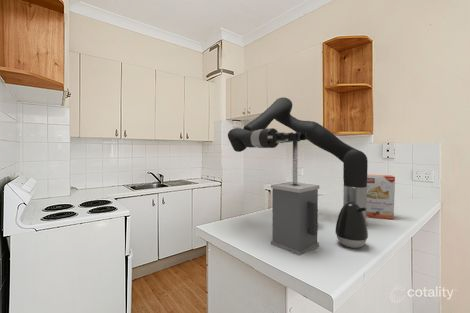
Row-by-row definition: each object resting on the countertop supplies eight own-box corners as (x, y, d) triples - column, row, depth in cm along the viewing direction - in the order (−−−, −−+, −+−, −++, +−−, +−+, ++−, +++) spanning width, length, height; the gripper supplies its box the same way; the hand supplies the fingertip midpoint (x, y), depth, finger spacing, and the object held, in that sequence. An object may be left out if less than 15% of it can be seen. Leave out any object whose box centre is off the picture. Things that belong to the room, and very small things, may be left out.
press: (291, 235, 90) (291, 181, 89) (324, 247, 79) (325, 186, 79) (270, 244, 82) (270, 184, 82) (305, 258, 72) (305, 190, 71)
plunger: (292, 208, 87) (292, 133, 86) (310, 213, 81) (311, 132, 80) (279, 212, 82) (279, 132, 81) (297, 217, 76) (298, 131, 75)
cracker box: (361, 217, 115) (361, 175, 114) (359, 213, 120) (360, 173, 120) (394, 220, 110) (395, 176, 109) (391, 216, 115) (392, 174, 114)
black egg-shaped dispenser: (353, 253, 75) (354, 207, 74) (329, 242, 84) (329, 200, 84) (375, 248, 79) (375, 203, 78) (349, 237, 88) (349, 198, 88)
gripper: (251, 127, 87) (289, 124, 74) (276, 129, 96) (313, 126, 83) (251, 147, 87) (289, 147, 74) (276, 148, 96) (313, 147, 83)
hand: (302, 136), depth 78 cm, fingers closed on plunger, 3 cm apart
